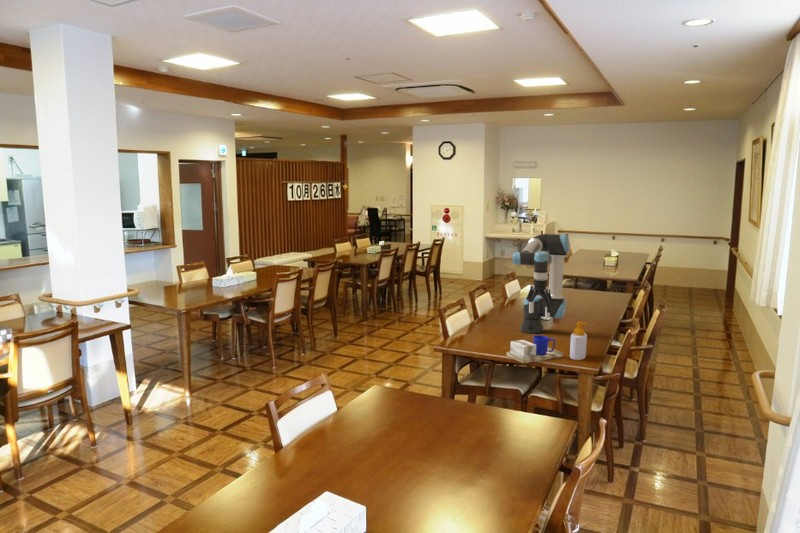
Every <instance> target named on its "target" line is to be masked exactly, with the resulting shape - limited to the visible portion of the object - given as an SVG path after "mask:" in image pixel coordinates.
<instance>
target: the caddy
mask: <svg viewBox="0 0 800 533" xmlns="http://www.w3.org/2000/svg"><path fill="white" fill-rule="evenodd" d="M509 348H510V349H509V350H510V351H506V353H505V354H506V357H509V358H510V359H513V360H515V361H517V362H519V363H522V364H528V363H534V362H539V361H545V360H549V359H550V360H551V359H556V358H562V357H564V352H562V351H559V350H558V349H557V350H556V349H554V350H553V351H552V352H548V351H551V350H552V348H553V347H552V348H551V347H549V346H548V348H547V350H548V351H547V353H546V355H536V345H535V344H534V342H533V343H532V342H530V341H528V340H524V339H518V340H513V341H510V347H509Z"/></svg>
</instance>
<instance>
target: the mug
mask: <svg viewBox="0 0 800 533" xmlns="http://www.w3.org/2000/svg"><path fill="white" fill-rule="evenodd" d="M549 341H553V344H552V350H551V351H548V350H547V348H548V347H549ZM533 344H535V345H536V355H546V353H547V351H548V352H552V351H553V350H555V345H556V339H555V338H549V337H548V336H546V335H539V334H538V335H534V336H533Z"/></svg>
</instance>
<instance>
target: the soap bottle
mask: <svg viewBox="0 0 800 533" xmlns="http://www.w3.org/2000/svg"><path fill="white" fill-rule="evenodd" d="M583 325H587V322H585V321H577V322H576V328H574V330H573V332H572V333H571V335H570V345H569V349H570V350H569V357H570V359H571V360H575V361H581V360H584V359H585V358H586V357H587V343H588V334H587V333H585V330H584V328H583Z"/></svg>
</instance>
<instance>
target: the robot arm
mask: <svg viewBox="0 0 800 533" xmlns="http://www.w3.org/2000/svg"><path fill="white" fill-rule="evenodd" d="M570 245H571V244H570V238H569V236H568V235H567V234H558V233H556V234H555V233H554V234H553V233H552V234H551V233H542V234H537V235H535V236H533V237H532V238H530V239H529V240H528V242H527V244H526V246H525V247H524V248H522V250H521V251H514V252H513V254H512V263H513V264H514V265H519V266H531V267H534V268H533V285H530V289H529V291H528V294H527V296H526V297H525V298H524V300H523V313H522V314H523V315H522V316H523V318H522V322H521V324H520V327H519V330H520V332H521V333H522V332H523V333H525V334H526V333H527V334H541V333H544V326H543V322H542V317H544V319H549V318H553V319H562V318H564V316H565V312H566V308H567V300H565V297H564V296H563V294H562V293H563V282H564V281H563V280H564V266H565V265H564V264H565V263H564V262H565V258H566V257H567V256H568V254H569V253H570V249H571V248H570V247H571V246H570ZM548 267H549V269H548ZM548 271H549V274H548ZM548 275H549V276H548ZM547 279H548V280H547ZM547 286H548V289H547Z"/></svg>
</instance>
